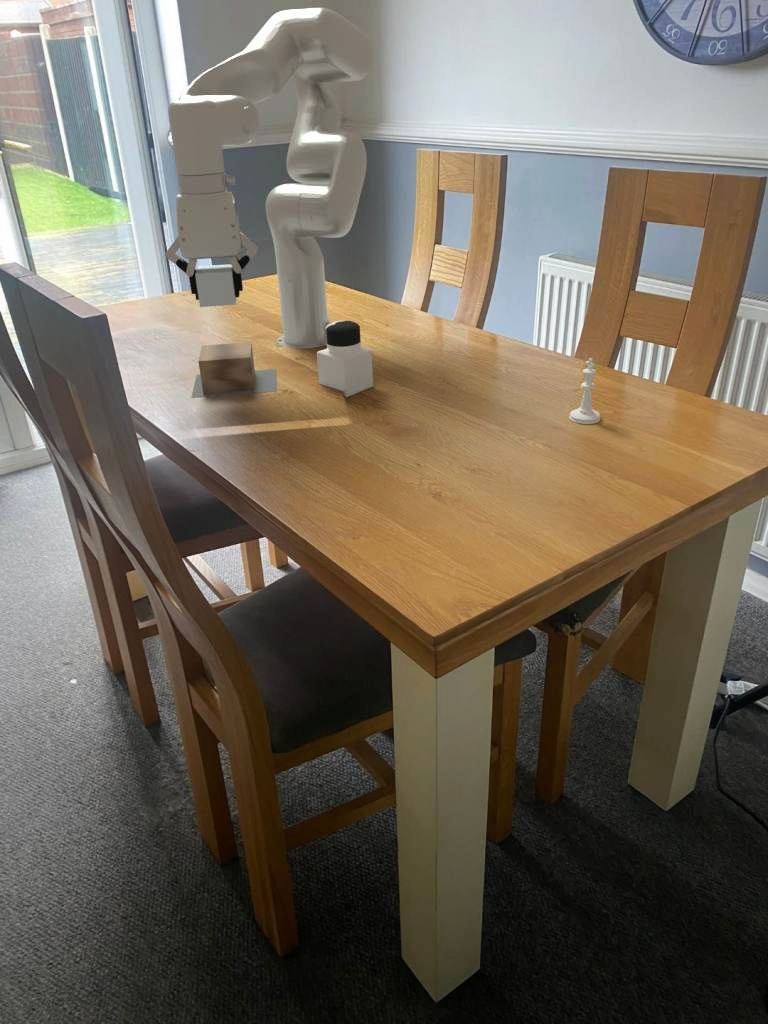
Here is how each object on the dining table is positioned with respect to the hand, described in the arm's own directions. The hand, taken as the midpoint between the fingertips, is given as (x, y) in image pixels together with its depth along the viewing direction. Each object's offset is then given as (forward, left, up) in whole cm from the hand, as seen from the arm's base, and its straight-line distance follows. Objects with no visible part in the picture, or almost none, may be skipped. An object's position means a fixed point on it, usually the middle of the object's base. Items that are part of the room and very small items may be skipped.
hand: (218, 295), depth 136 cm
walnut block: (0, 0, -16) cm, 16 cm away
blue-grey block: (0, 0, -1) cm, 1 cm away
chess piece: (-58, +26, -17) cm, 66 cm away
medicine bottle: (-21, +4, -17) cm, 28 cm away
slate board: (-1, 0, -17) cm, 17 cm away
